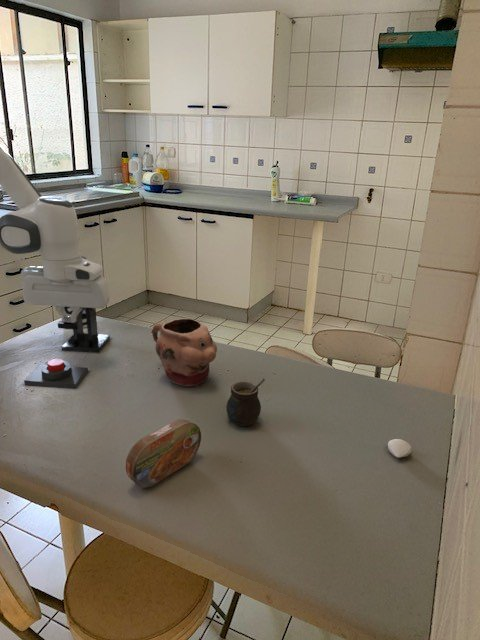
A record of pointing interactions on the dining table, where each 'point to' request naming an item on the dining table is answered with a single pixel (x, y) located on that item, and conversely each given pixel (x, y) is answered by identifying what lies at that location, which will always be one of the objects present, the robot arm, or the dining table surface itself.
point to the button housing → (57, 376)
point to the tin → (163, 452)
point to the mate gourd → (244, 403)
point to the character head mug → (184, 350)
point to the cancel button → (55, 365)
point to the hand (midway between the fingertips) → (69, 322)
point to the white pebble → (399, 448)
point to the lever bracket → (86, 335)
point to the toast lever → (72, 325)
